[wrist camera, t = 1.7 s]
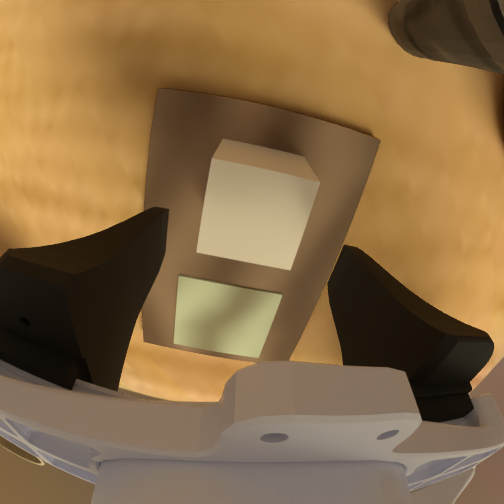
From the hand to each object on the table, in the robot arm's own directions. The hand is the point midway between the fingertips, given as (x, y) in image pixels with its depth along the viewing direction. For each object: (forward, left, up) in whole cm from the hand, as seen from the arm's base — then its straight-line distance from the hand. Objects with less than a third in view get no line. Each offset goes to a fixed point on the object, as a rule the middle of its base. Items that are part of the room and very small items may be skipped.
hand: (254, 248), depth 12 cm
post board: (0, +6, -9) cm, 11 cm away
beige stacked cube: (0, 0, -8) cm, 8 cm away
